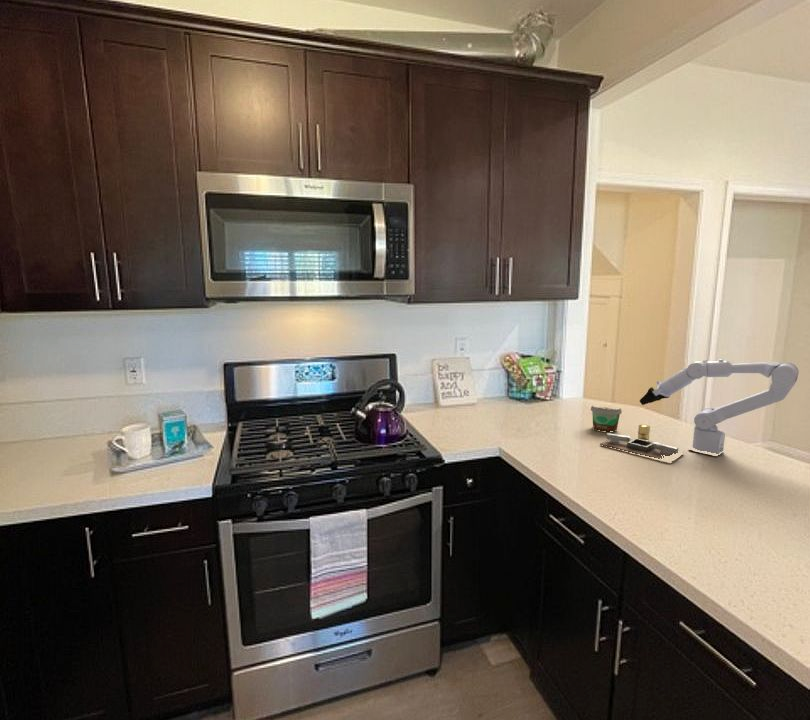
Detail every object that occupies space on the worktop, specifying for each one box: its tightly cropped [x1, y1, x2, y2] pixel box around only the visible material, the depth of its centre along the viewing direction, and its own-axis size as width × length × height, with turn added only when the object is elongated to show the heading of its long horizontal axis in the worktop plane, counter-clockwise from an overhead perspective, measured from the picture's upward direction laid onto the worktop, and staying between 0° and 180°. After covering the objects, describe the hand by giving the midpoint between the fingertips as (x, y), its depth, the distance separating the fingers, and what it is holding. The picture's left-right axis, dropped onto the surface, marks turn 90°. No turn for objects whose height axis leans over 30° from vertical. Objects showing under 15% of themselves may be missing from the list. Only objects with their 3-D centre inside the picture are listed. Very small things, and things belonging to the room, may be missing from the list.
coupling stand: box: [599, 432, 679, 459], centre depth 176 cm, size 25×13×4 cm, turn 41°
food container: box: [590, 405, 622, 433], centre depth 198 cm, size 12×6×10 cm, turn 62°
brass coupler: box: [637, 423, 651, 441], centre depth 187 cm, size 4×4×6 cm
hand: (644, 401), depth 187 cm, fingers open, 7 cm apart
